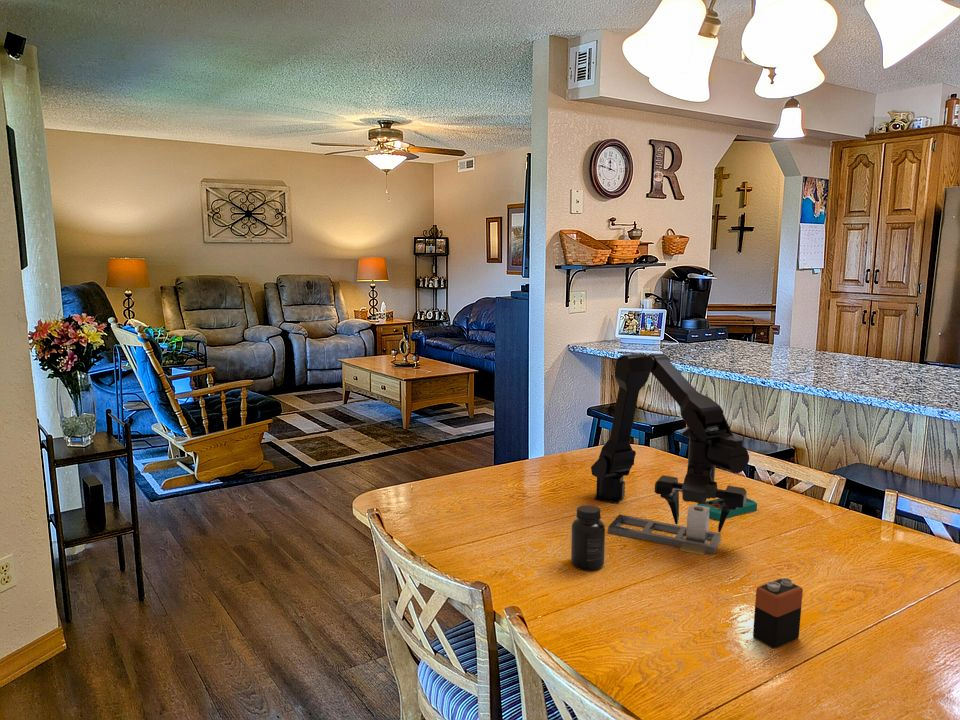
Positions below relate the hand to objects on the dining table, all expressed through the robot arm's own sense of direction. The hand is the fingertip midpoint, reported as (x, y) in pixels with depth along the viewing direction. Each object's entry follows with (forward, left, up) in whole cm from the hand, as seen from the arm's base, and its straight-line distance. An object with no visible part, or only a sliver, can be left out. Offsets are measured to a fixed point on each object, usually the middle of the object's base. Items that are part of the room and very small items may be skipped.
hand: (697, 527), depth 152 cm
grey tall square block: (0, 0, -4) cm, 4 cm away
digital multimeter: (+3, +24, -4) cm, 24 cm away
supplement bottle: (-18, -22, -4) cm, 29 cm away
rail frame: (-7, 0, -4) cm, 8 cm away
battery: (+19, -33, -4) cm, 38 cm away
